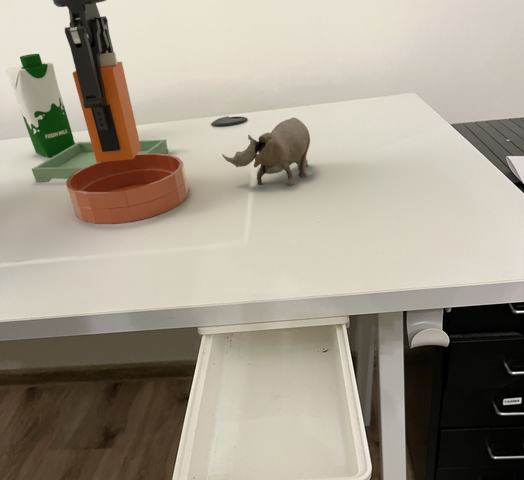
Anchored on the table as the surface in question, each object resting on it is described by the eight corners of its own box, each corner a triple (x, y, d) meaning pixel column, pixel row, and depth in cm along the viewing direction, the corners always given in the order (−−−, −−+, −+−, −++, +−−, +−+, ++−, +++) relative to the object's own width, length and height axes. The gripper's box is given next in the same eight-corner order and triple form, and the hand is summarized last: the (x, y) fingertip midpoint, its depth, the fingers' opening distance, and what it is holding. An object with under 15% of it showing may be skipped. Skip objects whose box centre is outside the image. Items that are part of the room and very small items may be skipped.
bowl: (54, 226, 89) (42, 193, 86) (111, 183, 104) (103, 154, 101) (160, 228, 84) (152, 193, 81) (204, 183, 99) (199, 152, 95)
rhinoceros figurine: (341, 152, 96) (295, 87, 86) (300, 216, 95) (247, 159, 85) (312, 149, 102) (264, 88, 92) (272, 210, 101) (220, 155, 91)
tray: (35, 181, 110) (31, 169, 109) (81, 153, 124) (78, 142, 122) (130, 180, 104) (127, 167, 103) (168, 151, 118) (165, 139, 116)
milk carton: (46, 159, 123) (13, 60, 111) (30, 153, 128) (-3, 58, 117) (82, 148, 127) (53, 51, 115) (64, 143, 133) (36, 50, 121)
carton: (96, 162, 87) (68, 60, 78) (105, 151, 92) (80, 53, 83) (133, 159, 87) (109, 56, 78) (141, 148, 91) (119, 49, 83)
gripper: (80, -31, 67) (126, 160, 80) (116, -36, 82) (150, 126, 96) (21, -24, 67) (76, 165, 81) (68, -30, 82) (108, 130, 96)
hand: (116, 143), depth 88 cm, fingers closed on carton, 6 cm apart
